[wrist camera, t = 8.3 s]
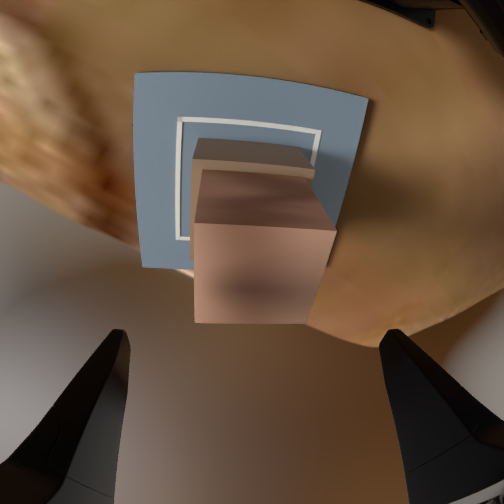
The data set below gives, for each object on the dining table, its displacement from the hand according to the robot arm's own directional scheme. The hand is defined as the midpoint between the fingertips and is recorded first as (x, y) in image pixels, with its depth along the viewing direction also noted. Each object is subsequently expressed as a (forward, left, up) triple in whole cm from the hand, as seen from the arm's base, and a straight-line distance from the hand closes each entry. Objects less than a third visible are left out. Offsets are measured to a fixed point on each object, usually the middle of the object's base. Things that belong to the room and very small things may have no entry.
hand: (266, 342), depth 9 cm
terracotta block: (0, 0, -8) cm, 8 cm away
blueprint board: (0, 0, -13) cm, 13 cm away
